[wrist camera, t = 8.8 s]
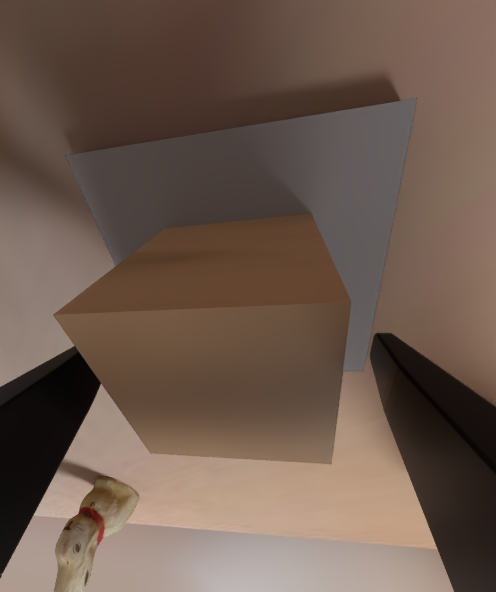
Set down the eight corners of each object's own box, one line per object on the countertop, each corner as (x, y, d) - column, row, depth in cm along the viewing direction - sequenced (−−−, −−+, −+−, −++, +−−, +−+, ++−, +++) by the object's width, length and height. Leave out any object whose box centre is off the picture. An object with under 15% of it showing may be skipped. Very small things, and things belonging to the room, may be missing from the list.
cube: (309, 332, 12) (331, 463, 7) (198, 335, 13) (150, 453, 8) (311, 213, 9) (351, 301, 4) (165, 228, 10) (53, 314, 5)
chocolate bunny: (135, 480, 29) (78, 616, 21) (141, 501, 33) (95, 621, 25) (91, 471, 29) (16, 604, 21) (102, 494, 33) (43, 611, 25)
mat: (358, 357, 14) (363, 371, 13) (170, 359, 16) (164, 371, 15) (402, 102, 8) (417, 98, 7) (83, 154, 10) (64, 155, 9)
